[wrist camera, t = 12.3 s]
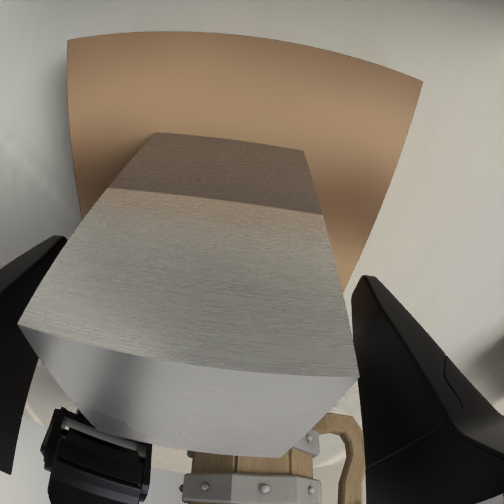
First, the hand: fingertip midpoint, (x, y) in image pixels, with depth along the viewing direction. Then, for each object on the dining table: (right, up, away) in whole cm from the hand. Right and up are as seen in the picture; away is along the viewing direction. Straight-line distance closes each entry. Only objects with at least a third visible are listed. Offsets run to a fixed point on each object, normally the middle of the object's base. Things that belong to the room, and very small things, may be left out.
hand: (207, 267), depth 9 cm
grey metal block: (0, +2, +3) cm, 4 cm away
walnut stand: (0, +4, +5) cm, 6 cm away
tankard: (+5, -14, +20) cm, 25 cm away
